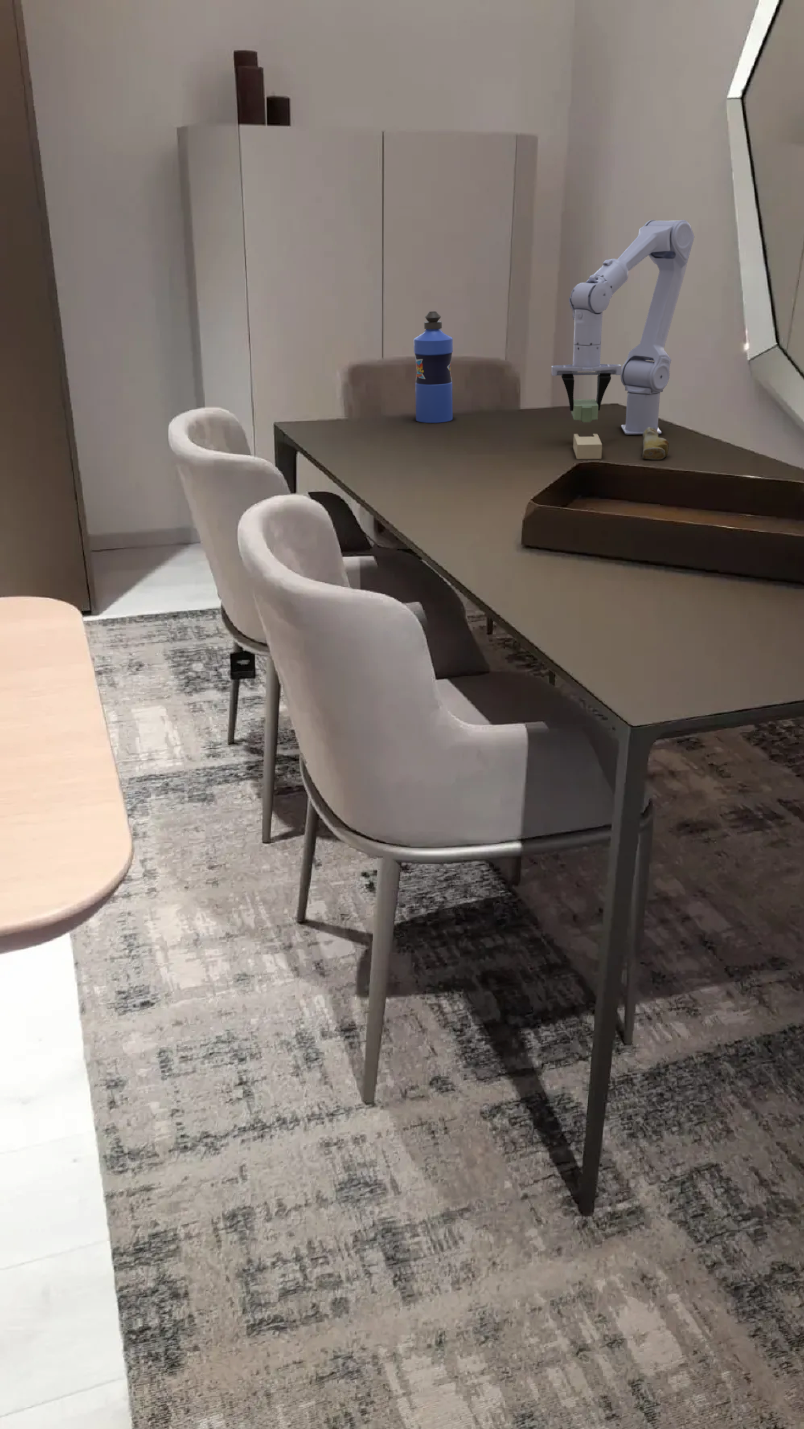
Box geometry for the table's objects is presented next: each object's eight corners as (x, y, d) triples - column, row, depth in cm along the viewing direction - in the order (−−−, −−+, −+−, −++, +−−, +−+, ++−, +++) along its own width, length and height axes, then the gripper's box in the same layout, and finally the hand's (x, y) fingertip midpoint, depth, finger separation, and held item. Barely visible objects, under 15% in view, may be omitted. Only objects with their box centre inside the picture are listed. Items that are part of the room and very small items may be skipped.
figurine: (675, 449, 222) (670, 424, 234) (651, 438, 221) (647, 413, 234) (662, 471, 225) (658, 445, 237) (638, 460, 224) (635, 435, 236)
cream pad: (573, 448, 236) (573, 434, 235) (596, 447, 236) (597, 433, 235) (576, 459, 226) (577, 444, 225) (601, 459, 226) (602, 444, 225)
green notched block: (571, 413, 241) (571, 399, 240) (594, 413, 241) (595, 399, 240) (574, 422, 232) (575, 407, 231) (598, 422, 232) (599, 407, 230)
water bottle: (420, 424, 266) (418, 314, 255) (411, 417, 274) (409, 311, 264) (457, 421, 268) (457, 312, 257) (447, 414, 276) (446, 309, 266)
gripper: (553, 346, 228) (551, 413, 234) (624, 345, 227) (620, 412, 233) (551, 342, 235) (549, 408, 240) (620, 341, 234) (616, 407, 239)
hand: (584, 410), depth 237 cm, fingers closed on green notched block, 5 cm apart
